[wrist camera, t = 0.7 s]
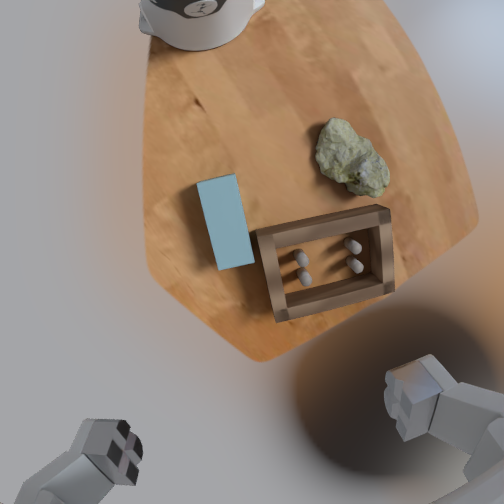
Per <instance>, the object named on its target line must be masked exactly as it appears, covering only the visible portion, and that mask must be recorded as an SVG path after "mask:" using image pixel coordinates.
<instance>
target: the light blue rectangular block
mask: <svg viewBox="0 0 504 504" xmlns="http://www.w3.org/2000/svg"><path fill="white" fill-rule="evenodd" d="M197 187H198V192H199V196H200V200H201V204H202V208H203V212H204V216H205V220H206V224H207V228H208V232H209V235H210V239H211V243H212V247H213V251H214V255H215V258H216V262H217V266H218V270H223V269H227V268H232V267H237V266H241V265H246V264H250V263H255V260H254V255H253V250H252V246H251V242H250V237H249V233H248V228H247V224H246V219H245V215H244V210H243V206H242V202H241V197H240V193H239V188H238V184H237V179H236V175H235V173H233V174H229V175H224V176H220V177H216V178H212V179H208V180H203V181H200V182H198V183H197Z"/></svg>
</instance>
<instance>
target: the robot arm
mask: <svg viewBox="0 0 504 504" xmlns="http://www.w3.org/2000/svg"><path fill="white" fill-rule="evenodd" d="M264 4H265V0H141V2H140V3H139V7H140V10H141V11H140V20H139V28H140V31H141V32H142V33H144V34H148V35H154V36H157V37H159V38H161V39H162V40H164V41H165V42H166V43H168V44H170V45H171V46H174V47H176V48H179V49H184V50H192V51H198V50H207V49H212V48H215V47H218V46H221V45H223V44H225V43H227V42H229V41H231V40H232V39H234V38H235V37H236V36H238V35H239V34H240V33H241V32H242V31H243V29H244V28H245V27H246V25H247V23H248V21H249V19H250V18H251V16H252V15H253V14H254V13H255V12H257V11H258V10H259V9H261V8H262V7H263V6H264ZM385 381H386V382H387V384H388V387H387V388H386V389H385V392H384V399H385V405H386V408H387V411H388V413H389V415H390V416H391V417H392V418H394V419H396V420H397V425H396V428H397V429H398V431H399V433H400V435H401V437H402V439H403V441H404V442H405V441H407V440H410V439H412V438H415V437H417V436H419V435H422V434H424V433H427V432H428V433H429V434H432V435H433V436H435V437H437V438H439V439H441V440H443V441H445V442H446V443H448V444H450V445H452V446H454V447H456V448H458V449H460V450H462V451H464V452H466V453H468V454H470V455H472V456H471V457H470V459H469V461H468V462H467V464H466V465H465V467H464V470H463V473H464V475H465V477H466V478H467V480H468V483H466V484H464V485H463V486H461V487H459V488H458V489H456V490H454V491H452V492H451V493H449V494H447V495H445V496H443V497H441V498H439V499H437V500H436V501H433V502H432V503H429V504H504V394H501V393H497V392H494V391H490V390H486V389H483V388H480V387H476V386H473V385H470V384H466V383H463V382H461V383H459V384H458V383H457V382H456V381H455V380H454V379H453V378H452V376H451V375H450V374H449V373H448V372H447V371H446V370H445V368H444V367H443V366H442V365H441V364H440V363H439V362H438V361H437V360H436V358H435V357H434V356H433V355H431V354H429V355H427V356H424V357H422V358H419V359H417V360H416V361H412V362H410V363H407V364H405V365H402V366H399V367H397V368H394V369H392V370H389V371H387V373H386V380H385ZM130 428H131V427H130V425H129V424H128V423H127V422H126V420H115V419H85V420H84V421H83V422H82V424H81V426H80V429H79V430H78V432H77V435H76V437H75V439H74V441H73V443H72V445H71V448H70V450H69V452H64V453H63V454H62V455H60V456H59V457H57V458H56V459H55V460H53V461H52V462H51V463H49V464H48V465H47V466H45V467H44V468H43V469H42V470H40V471H39V472H37V473H36V474H34V475H33V476H32V477H30V478H29V479H28V480H26V481H25V482H24V483H23V485H22V487H21V489H20V491H19V494H18V496H17V498H16V501H15V503H14V504H98V503H99V502H100V501H101V500H102V499H103V498H104V496H106V495H107V493H108V492H109V491H110V490H111V489H112V488H113V487H114V484H116V485H130V486H135V485H136V482H137V478H138V473H139V469H138V467H137V466H136V465H137V464H138V463H139V462H140V461H141V460H142V456H143V448H142V443H141V441H140V439H139V438H138V436H137V435H135V434H134V433H132V432H131V431H130ZM0 504H3V503H1V502H0Z"/></svg>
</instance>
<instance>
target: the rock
mask: <svg viewBox="0 0 504 504" xmlns="http://www.w3.org/2000/svg"><path fill="white" fill-rule="evenodd" d="M318 139H319V140H318V142H317V143H318V144H317V145H316V150H317V152H316V154H315V158H316V161H317V162H318V164H319V166H320V170H321V173H322V174H324V175H325V176H327V177H328V178H330V179H331V180H335V181H337V182H338V183H345V184H346V187H347V190H348V191H349V192H353V193H355V194H356V195H359V196H363V195H368V196H370V197H372V198H376V197H379V196H381V195H382V194H383V192H384V191H385V189H384V188H385V187H387V186H388V183H389V181H390V173H389V170H388V167H387V165H386V162H385V161H384V160H383V159H382V158H381V157H380V156H379V155H378V153H377V152H376V151H375V150H374V148H373V146H372V144H371V142H370V140H369V139H367V138H366V139H365V138H364V137H361V136H359V135H357V134H356V133H355V131H354V130H353V128H352V127H351V126H350V124H349V123H348V122H347V121H345V120H343V119H338V118H331V119H329V121H328V122H327V123H326V125H324V127H323V128H322V130H321V133H320V135H319V138H318Z"/></svg>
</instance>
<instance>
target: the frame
mask: <svg viewBox="0 0 504 504" xmlns="http://www.w3.org/2000/svg"><path fill="white" fill-rule="evenodd" d="M366 228H368V237H369V247H370V259H371V273H368V274H364V275H361V276H357V277H353V278H349V279H345V280H341V281H337V282H333V283H330V284H326V285H321V286H317V287H313V288H309V289H305V290H301V291H297V292H292V293H288V294H284V289H283V284H282V279H281V274H280V269H279V264H278V259H277V254H276V249H277V248H281V247H286V246H290V245H295V244H299V243H304V242H308V241H312V240H317V239H321V238H326V237H330V236H335V235H339V234H343V233H348V232H352V231H357V230H361V229H366ZM255 231H256V236H257V241H258V245H259V250H260V254H261V259H262V263H263V268H264V272H265V277H266V282H267V286H268V291H269V295H270V300H271V305H272V309H273V313H274V317H275V321H276V323H278V322H283V321H287V320H291V319H296V318H300V317H304V316H308V315H312V314H316V313H320V312H324V311H328V310H332V309H335V308H339V307H343V306H346V305H350V304H354V303H357V302H361V301H364V300H368V299H371V298H375V297H378V296H381V295H385V294H388V293H391V292H395V282H394V255H393V238H392V225H391V214H390V209H389V208H386V207H383V206H381V205H378V204H374V205H369V206H364V207H359V208H354V209H349V210H344V211H340V212H335V213H330V214H325V215H320V216H316V217H311V218H306V219H302V220H297V221H292V222H288V223H283V224H279V225H274V226H270V227H265V228H261V229H256V230H255ZM344 246H345V247H346V248H348V249H349V250H350V251H351V252H352V253H354V254H359V253H360V252H361V250H362V247H361V245H360V244H359V243H357V242H356V241H355V240H353V239H352V238H350V237H347V238H345V240H344ZM293 256H294V258H295V260H296V261H297V263H298V265H299V266H301V267H300V268H298V269H297V272H296V274H297V276H298V278H299V280H300V282H301V284H302V285H303V286H309V285H310V284H311V283H312V278H311V277H310V275H309V273H308V272H307V270H306V269H305V268H304V267H305V266H307V265H308V263H309V259H308V257H307V256H306V255H305V253H304V252H303V250H302V249H296V250H295V251H294V252H293ZM346 264H347V265H348V266H349V267H350V268H351V269H352V270H353V271H354V272H355V273H360V272H362V271H363V264H362V263H360V262H359V261H358V260H357V259H356V258H355V257H354V256H348V257H347V258H346Z"/></svg>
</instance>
